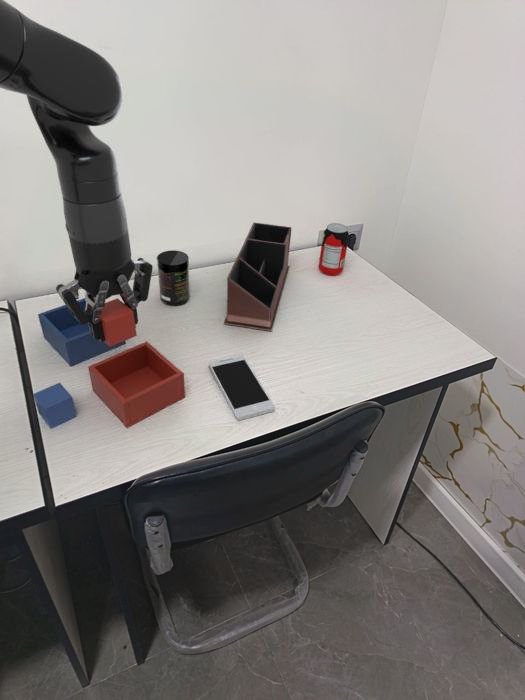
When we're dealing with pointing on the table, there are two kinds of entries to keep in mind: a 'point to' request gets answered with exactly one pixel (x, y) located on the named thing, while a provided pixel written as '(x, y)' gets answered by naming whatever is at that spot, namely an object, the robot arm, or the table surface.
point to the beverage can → (333, 249)
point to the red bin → (137, 383)
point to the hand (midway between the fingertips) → (115, 332)
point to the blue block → (55, 405)
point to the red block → (117, 322)
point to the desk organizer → (258, 277)
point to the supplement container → (173, 277)
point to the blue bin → (71, 335)
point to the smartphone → (241, 387)
